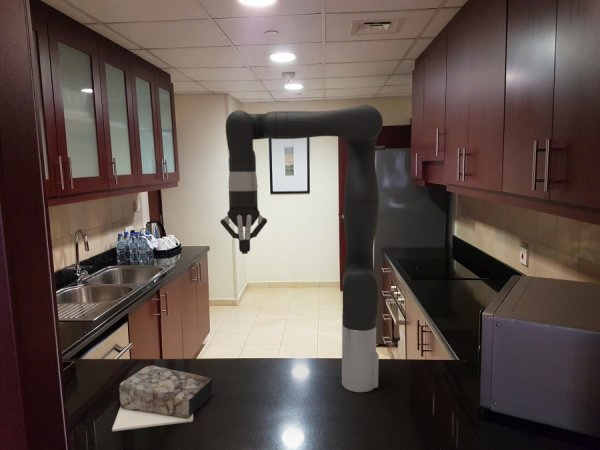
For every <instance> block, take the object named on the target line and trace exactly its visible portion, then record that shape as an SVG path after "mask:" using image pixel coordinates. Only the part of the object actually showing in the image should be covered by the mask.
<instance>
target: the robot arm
mask: <svg viewBox="0 0 600 450" xmlns="http://www.w3.org/2000/svg"><path fill="white" fill-rule="evenodd" d="M383 125H384V119H383V115H382V114H381V112H380V111H379V110H378V109H377V108H376V107H374V106H372V105H369V104H360V105H358V106H352V107H346V108H342V109H334V110H320V111H315V110H314V111H308V110H307V111H306V110H304V111H303V110H295V111H294V110H283V111H281V110H280V111H279V110H278V111H277V110H275V111H268V112H266V113H248V112H246V111H244V110H241V109H240V110H239V109H238V110H234V111H232V112H231V113H230V114H228V116H227V118H226V121H225V136H226V144H227V149H228V171H229V172H228V173H229V174H228V207H229V208H228V211H227V215H226V216H225V217H224V218H222V219H220V222H219V223H220V224H221V225H222V226H223V228H224V229H225V230H226V232H227V233H228V234H229V235H231V237H232V238H233V239H235V240H236V239H237V240H238V250H239V251H240V253H241V254H242V255H248V254H249V253H248V252H250V251H251V240H252V239H254V238H257V236H258V235H259V234H260V232H261V230H263V228H264V227H265V226H266V224H267V223H268V219H267V218H265V217H263V216H262V215H261V213H260V212H261V211H259V208H258V207H259V206H258V205H259V203H258V188H259V187H258V186H259V185H258V179H257V178H258V176H257V172H256V171H257V157H256V152H255V151H254V141H255V140H265V139H270V140H271V139H272V140H292V139H293V140H295V139H306V138H307V139H309V138H315V137H318V138H319V137H341V138H346V139H345V140H346V153H347V154H346V156H347V163H346V166H347V167H346V171H345V172H346V173H345V181H344V192H343V226H344V236H345V237H344V238H345V246H346V247H345V248H346V249H345V258H344V259H345V262H344V269H343V274H342V315H341V319H342V320H341V322H342V323H341V324H342V325H341V326H342V327H341V328H342V329H341V331H342V333H341V342H342V343H341V384H342V387H344V389H346V390H348V391H351V392H355V393H366V392H370V391H373V390H374V389H375V388H376V389H377V388H378V387H379V358H380V357H379V356H380V355H379V353H378V352H377V322H378V321H377V319H378V311H379V307H378V306H379V304H378V303H379V284H378V281H377V280H378V279H377V278H376V275H375V274H376V273H375V267H374V242H375V237H376V233H377V228H378V222H379V214H380V213H379V210H380V209H379V204H380V203H379V201H380V197H379V196H380V194H379V184H378V183H379V182H378V177H377V169H376V150H377V149H376V147H377V139H378V136H379V135H380V133H381V131H382V130H383ZM230 221H231V222H232V224H233V225H234V226H235V227H236V228H237V232H236V231H235V230H233V228H232V227H231V226H230V224H231V222H230ZM256 221H257V225H256V226H255V227H254V228H253V230H252V226H254V224H255V223H256ZM251 230H252V232H251Z"/></svg>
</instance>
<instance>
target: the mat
mask: <svg viewBox="0 0 600 450" xmlns="http://www.w3.org/2000/svg"><path fill="white" fill-rule="evenodd" d="M193 421H194V413H193V414H192V415H191V416H190V417H189V418H184V417H179V416H170V415H164V414H161V413H157V412H146V411H138V410H136V411H133V410H129V409H124V408H121V405H119V410H118V412H117V415H116V418H115V420H114V423H113V425H112V428H111V431H112V432H117V431H119V432H120V431H126V430H127V431H128V430H136V429H142V428H150V427H158V426H165V425H166V426H167V425H174V424H175V425H176V424H183V423H191V422H193Z"/></svg>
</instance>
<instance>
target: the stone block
mask: <svg viewBox="0 0 600 450" xmlns="http://www.w3.org/2000/svg"><path fill="white" fill-rule="evenodd" d="M214 382H215V380H214V378H211V377H207V376H204V375H199V374H195V373H190V372H185V371H177V370H176V369H169V368H166V367H160V366H157V365H147V366H145V367H142V368H141V369H139V370H138V371H137V372H136V373H134V374H132V375H130V376H129V377H128V378H126V379H124V380H123V381H121V383H120V384H119V388H118V389H119V390H118V391H119V401H120V406H121V408H124V409H129V410H133V411H136V410H138V411H146V412H157V413H161V414H164V415H170V416H179V417H184V418H189V417H190V416H191V415H192V414H193V415H194V414H195V413H196V411H198V410H199V408H201V407H202V406H203V404H205V403H206V402H207V401H208V400H209V399H210V397H211V395H212V392H213V388H214Z"/></svg>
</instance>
